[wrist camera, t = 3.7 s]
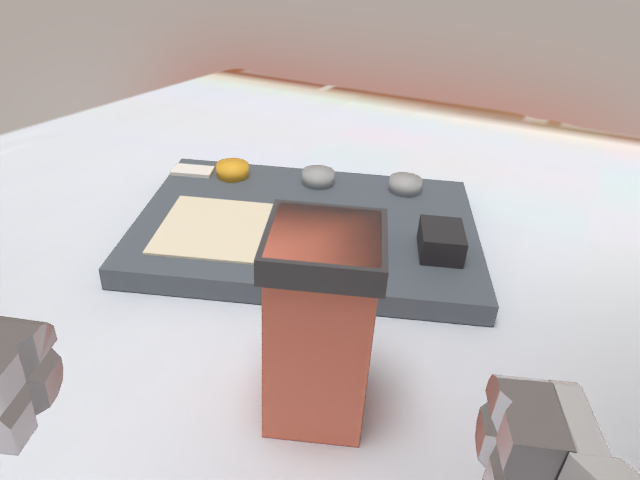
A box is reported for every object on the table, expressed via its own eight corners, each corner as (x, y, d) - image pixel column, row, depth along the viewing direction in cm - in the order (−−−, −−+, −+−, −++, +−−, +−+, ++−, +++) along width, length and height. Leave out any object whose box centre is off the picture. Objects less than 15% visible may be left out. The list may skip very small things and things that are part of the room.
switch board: (460, 198, 49) (467, 162, 47) (493, 327, 34) (505, 282, 33) (182, 174, 50) (180, 138, 48) (102, 289, 36) (94, 244, 34)
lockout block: (366, 374, 30) (387, 208, 25) (363, 452, 26) (388, 273, 21) (273, 364, 31) (275, 199, 26) (256, 440, 26) (253, 260, 21)
